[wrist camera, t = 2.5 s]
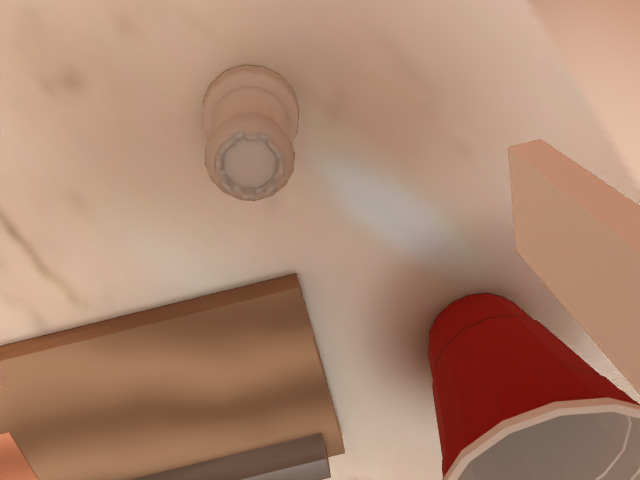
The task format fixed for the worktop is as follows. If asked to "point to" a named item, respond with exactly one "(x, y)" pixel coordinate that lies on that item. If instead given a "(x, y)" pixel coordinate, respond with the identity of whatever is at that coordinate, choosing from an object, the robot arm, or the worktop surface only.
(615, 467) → the plastic cup
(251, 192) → the rook chess piece
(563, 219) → the robot arm
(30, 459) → the walnut board
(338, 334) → the worktop surface
